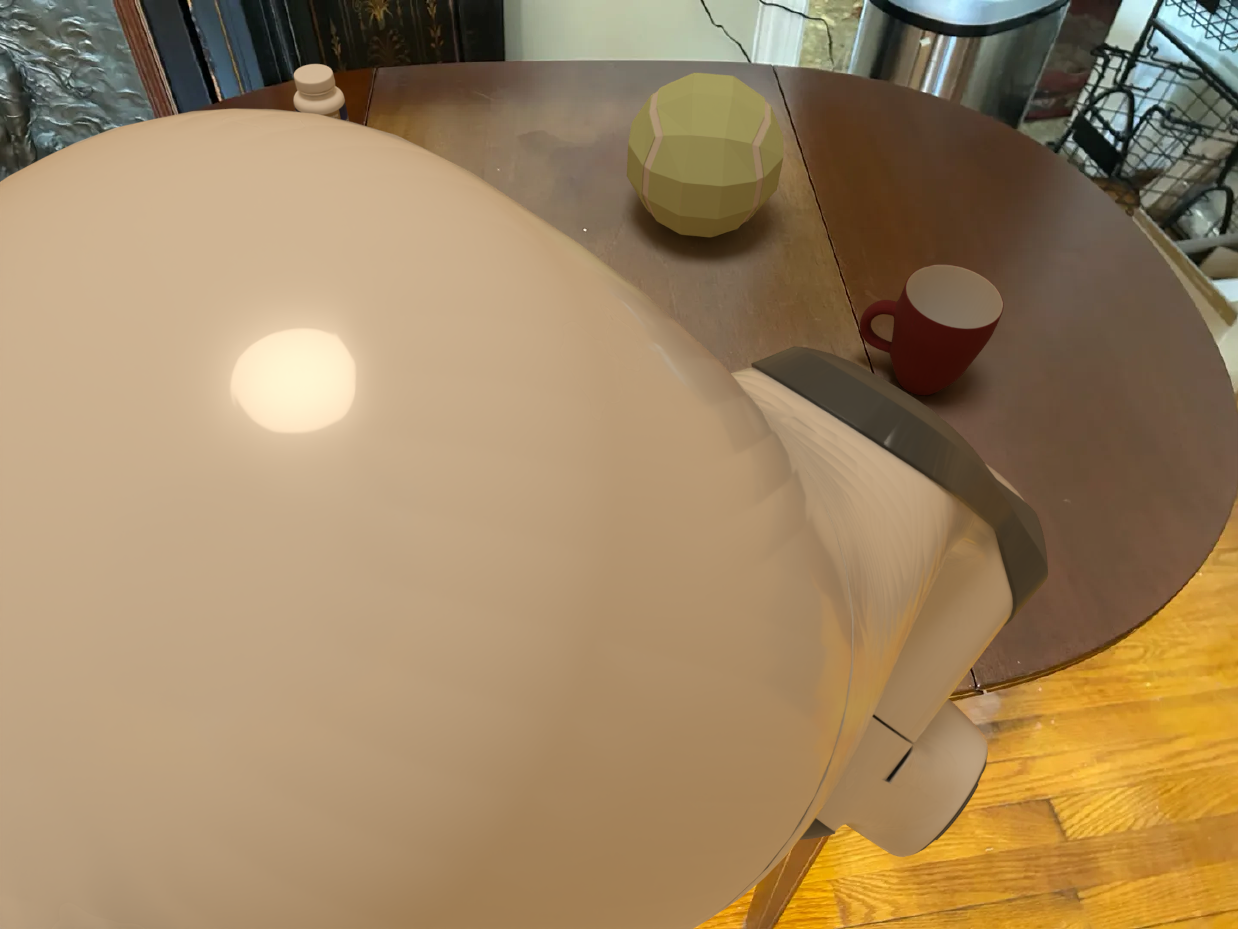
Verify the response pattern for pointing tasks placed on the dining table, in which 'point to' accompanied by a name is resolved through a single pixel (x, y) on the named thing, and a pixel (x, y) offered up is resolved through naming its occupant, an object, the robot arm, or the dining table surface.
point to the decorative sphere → (704, 154)
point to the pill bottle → (318, 92)
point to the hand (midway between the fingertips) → (532, 468)
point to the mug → (936, 325)
